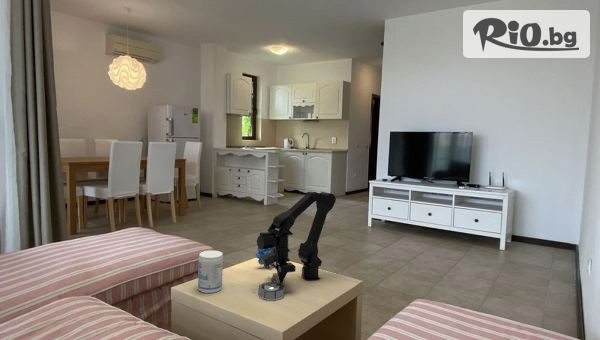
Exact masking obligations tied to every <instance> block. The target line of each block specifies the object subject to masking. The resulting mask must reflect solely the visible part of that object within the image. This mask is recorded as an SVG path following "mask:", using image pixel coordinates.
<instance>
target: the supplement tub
mask: <svg viewBox="0 0 600 340" xmlns="http://www.w3.org/2000/svg"><path fill="white" fill-rule="evenodd" d="M198 255H199V256H198V267H197V268H198V271H197V272H198V273H197V274H198V275H197V276H198V279H197V289H198V290H199V292H200V293H206V294H211V293H212V294H213V293H216V292H219V291H220V290H222V289H223V270H224V269H223V266H224V265H223V264H224V254H223V251H219V250H204V251H202V252H200V253H199V254H198Z"/></svg>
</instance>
